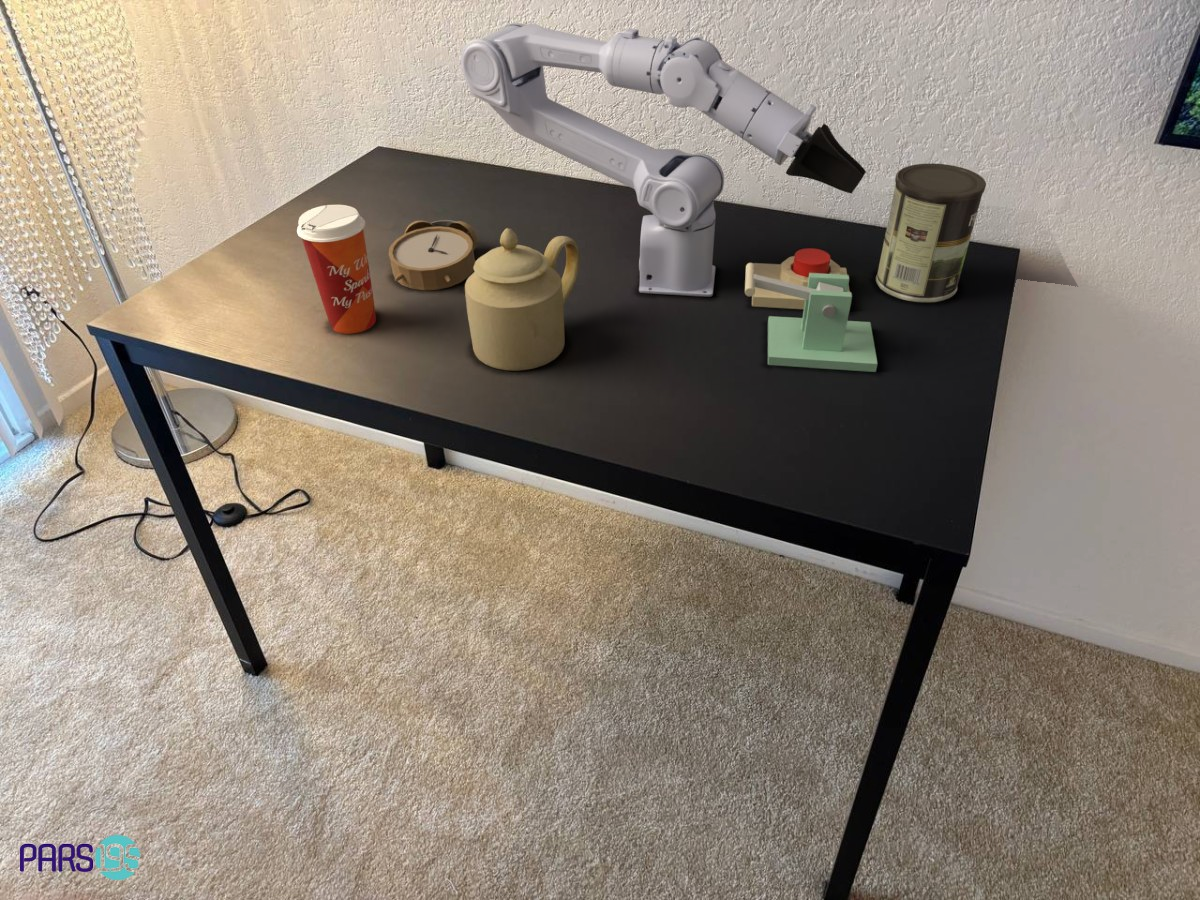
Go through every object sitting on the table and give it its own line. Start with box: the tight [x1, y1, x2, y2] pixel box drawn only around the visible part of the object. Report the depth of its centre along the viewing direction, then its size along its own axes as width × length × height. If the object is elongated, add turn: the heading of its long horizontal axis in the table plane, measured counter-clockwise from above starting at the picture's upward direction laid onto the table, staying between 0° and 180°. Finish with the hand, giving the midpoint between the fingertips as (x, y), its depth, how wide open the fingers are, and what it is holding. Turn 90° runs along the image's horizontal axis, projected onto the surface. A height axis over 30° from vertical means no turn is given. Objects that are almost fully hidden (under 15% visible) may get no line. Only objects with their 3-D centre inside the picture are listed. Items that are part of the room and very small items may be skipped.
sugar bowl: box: [464, 227, 581, 372], centre depth 99 cm, size 15×11×15 cm
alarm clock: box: [388, 219, 478, 291], centre depth 118 cm, size 11×5×15 cm
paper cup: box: [296, 204, 377, 335], centre depth 103 cm, size 8×8×14 cm
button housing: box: [751, 255, 852, 312], centre depth 110 cm, size 12×9×4 cm
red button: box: [793, 247, 831, 277], centre depth 108 cm, size 4×4×2 cm
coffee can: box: [875, 162, 987, 304], centre depth 108 cm, size 10×10×14 cm
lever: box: [744, 262, 843, 300], centre depth 97 cm, size 11×6×2 cm, turn 82°
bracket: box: [767, 273, 878, 373], centre depth 98 cm, size 12×9×8 cm
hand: (859, 182), depth 96 cm, fingers open, 7 cm apart
